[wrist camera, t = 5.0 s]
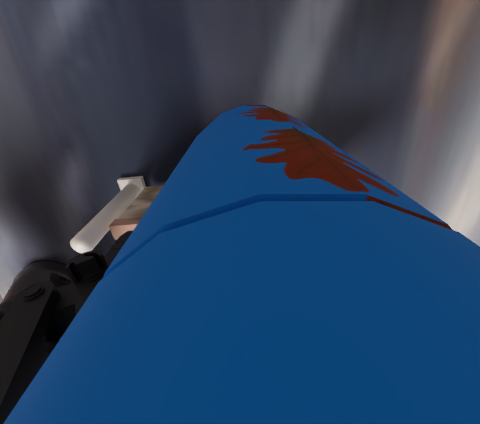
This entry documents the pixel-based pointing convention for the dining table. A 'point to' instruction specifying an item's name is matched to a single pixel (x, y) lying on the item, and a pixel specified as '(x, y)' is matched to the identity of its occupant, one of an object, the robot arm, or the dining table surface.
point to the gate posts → (108, 214)
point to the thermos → (273, 298)
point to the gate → (134, 212)
